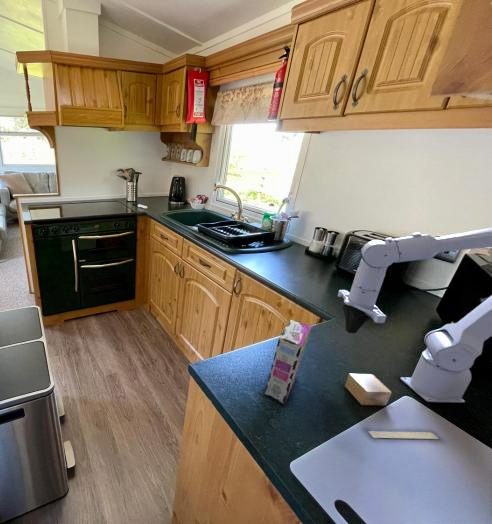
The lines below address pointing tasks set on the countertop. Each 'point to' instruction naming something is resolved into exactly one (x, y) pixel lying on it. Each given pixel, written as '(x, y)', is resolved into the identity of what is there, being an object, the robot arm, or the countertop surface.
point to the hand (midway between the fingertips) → (350, 331)
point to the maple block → (367, 389)
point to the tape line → (403, 435)
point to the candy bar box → (287, 360)
